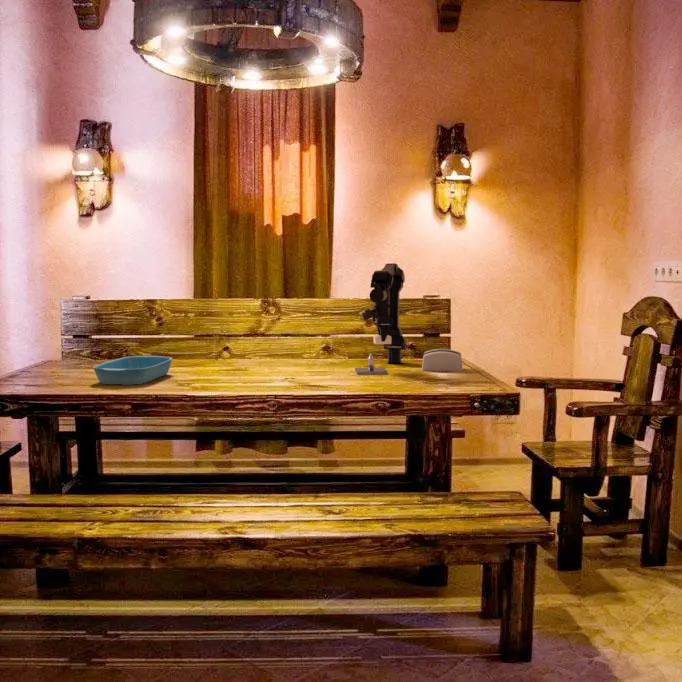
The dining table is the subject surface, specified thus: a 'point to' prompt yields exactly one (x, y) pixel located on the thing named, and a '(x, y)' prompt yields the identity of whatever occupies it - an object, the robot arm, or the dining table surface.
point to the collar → (378, 339)
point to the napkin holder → (442, 360)
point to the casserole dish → (132, 369)
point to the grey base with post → (370, 368)
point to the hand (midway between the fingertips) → (382, 340)
